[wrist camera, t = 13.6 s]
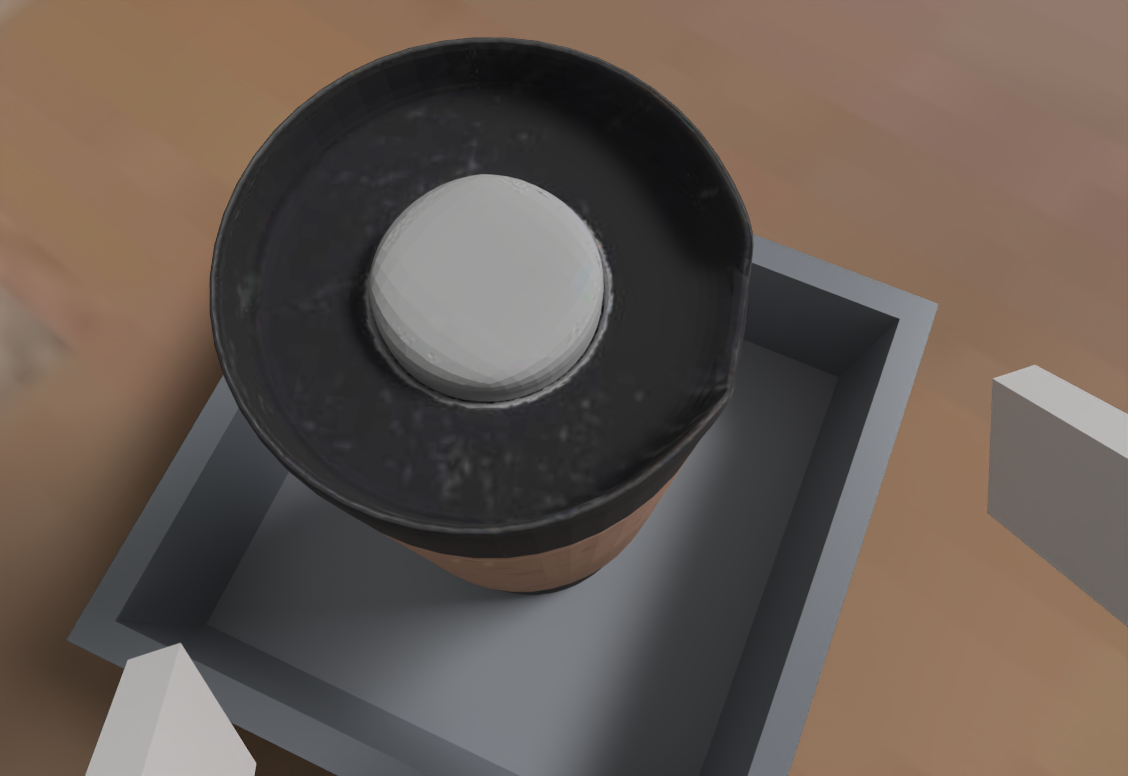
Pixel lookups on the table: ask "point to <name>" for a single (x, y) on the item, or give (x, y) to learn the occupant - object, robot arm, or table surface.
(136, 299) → the table surface
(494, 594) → the bin
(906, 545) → the table surface
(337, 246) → the travel mug
